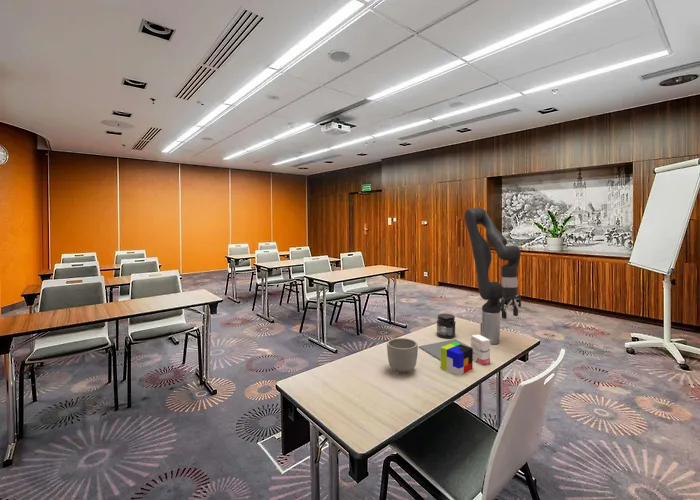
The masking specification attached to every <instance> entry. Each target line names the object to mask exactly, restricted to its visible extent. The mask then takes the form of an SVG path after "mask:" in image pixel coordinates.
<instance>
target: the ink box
mask: <svg viewBox="0 0 700 500" xmlns="http://www.w3.org/2000/svg"><path fill="white" fill-rule="evenodd" d="M470 347H471V348H473V361H474V362H477V363H478V364H480V365H481V366H484V365H489V364H491V344H490V340H489V339H487V338H485V337H483V336H481V335H480V334H472V335H471V336H470Z"/></svg>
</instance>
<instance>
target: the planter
mask: <svg viewBox="0 0 700 500" xmlns="http://www.w3.org/2000/svg"><path fill="white" fill-rule="evenodd" d="M418 350H419V345H418V342H417V341H416V340H414V339H411V338H405V337H398V338H397V337H396V338H391V339H389V340H387V342H386V352H387V361H388V365H389V367H390V368H391V369H392V370H394V372H396V373H397V374H399V375H404V374H405V375H406V374H409V373H410V372H411V371H412V370H413V369H414V368H415V367H416V365H417V362H418V361H417V360H418Z"/></svg>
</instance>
